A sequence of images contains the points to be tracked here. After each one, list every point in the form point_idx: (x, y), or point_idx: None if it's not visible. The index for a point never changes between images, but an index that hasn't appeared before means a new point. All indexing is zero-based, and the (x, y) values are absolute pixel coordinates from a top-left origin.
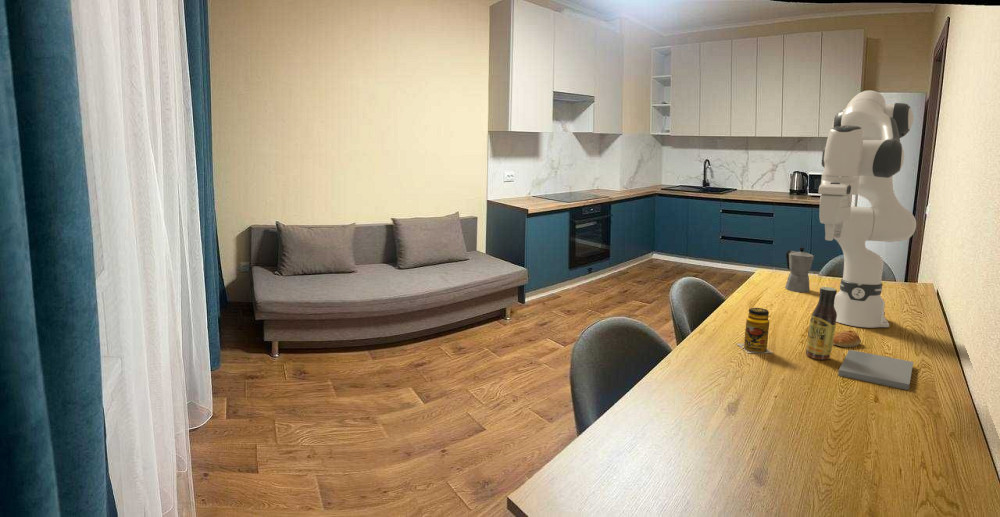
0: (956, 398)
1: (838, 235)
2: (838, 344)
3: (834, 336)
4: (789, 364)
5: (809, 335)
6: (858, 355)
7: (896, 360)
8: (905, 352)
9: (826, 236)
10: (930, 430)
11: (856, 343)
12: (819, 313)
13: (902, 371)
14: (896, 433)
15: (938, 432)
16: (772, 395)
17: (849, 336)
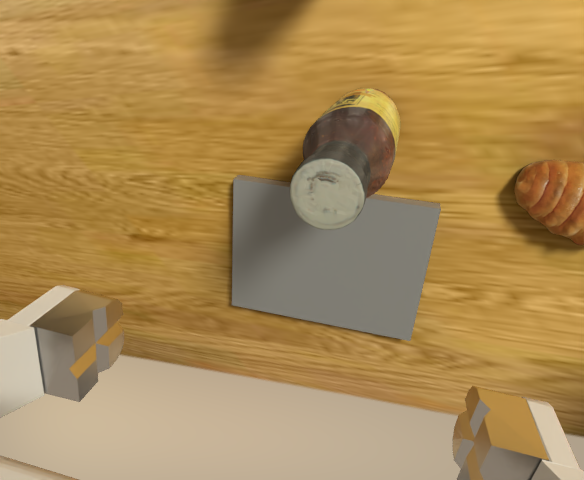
0: (247, 362)
1: (459, 449)
2: (517, 179)
3: (577, 170)
4: (246, 52)
5: (337, 101)
6: (392, 228)
7: (399, 308)
8: (549, 341)
9: (37, 311)
10: None
11: (550, 231)
12: (307, 142)
13: (313, 307)
14: (25, 251)
15: None
16: (14, 45)
17: (559, 217)
